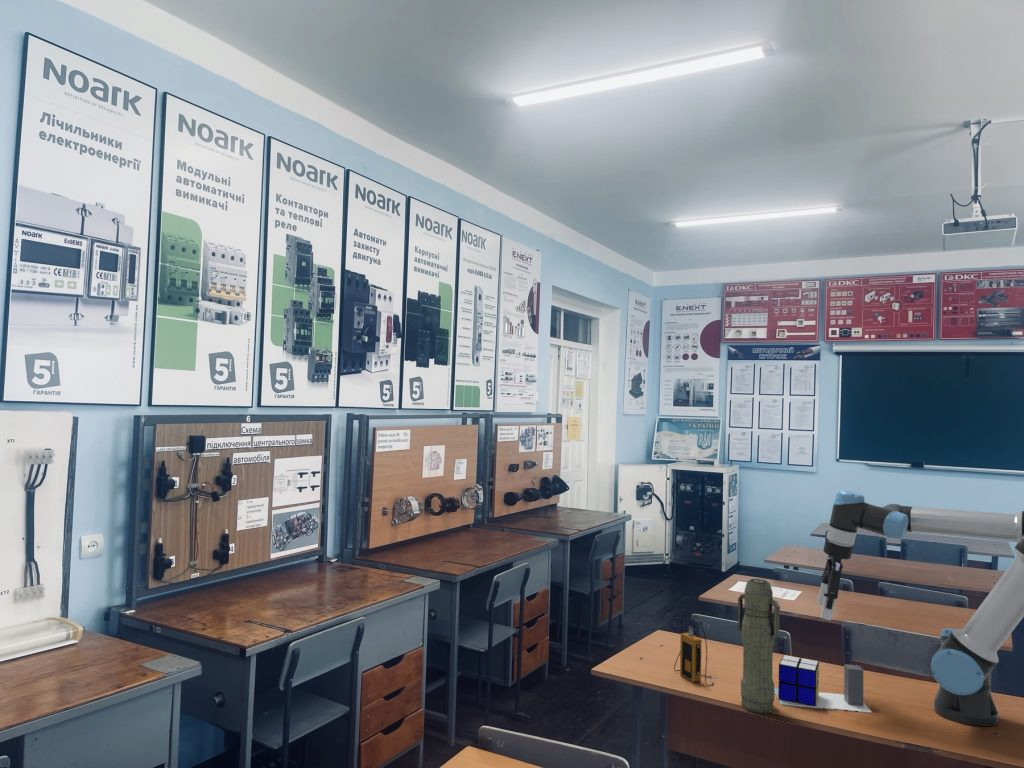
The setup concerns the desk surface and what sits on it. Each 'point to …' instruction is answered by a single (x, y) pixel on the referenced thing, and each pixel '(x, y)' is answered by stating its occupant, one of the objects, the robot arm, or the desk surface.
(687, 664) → the multimeter
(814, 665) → the puzzle cube
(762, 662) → the thermos
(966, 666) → the robot arm
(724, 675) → the desk surface
